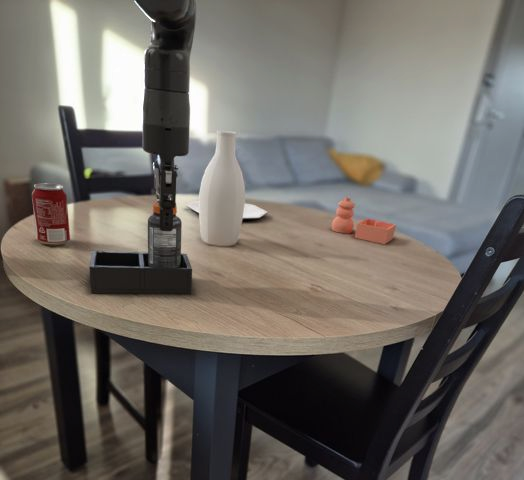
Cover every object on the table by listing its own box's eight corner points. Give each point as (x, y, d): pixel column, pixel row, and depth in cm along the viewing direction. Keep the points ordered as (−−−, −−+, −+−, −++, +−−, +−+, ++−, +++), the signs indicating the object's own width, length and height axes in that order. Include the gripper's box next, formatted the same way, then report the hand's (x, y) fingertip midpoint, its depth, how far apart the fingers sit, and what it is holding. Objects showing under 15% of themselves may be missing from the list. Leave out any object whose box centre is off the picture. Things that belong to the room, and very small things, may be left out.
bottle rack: (90, 293, 84) (89, 266, 81) (93, 275, 91) (92, 250, 89) (191, 294, 88) (192, 269, 86) (185, 276, 96) (186, 253, 94)
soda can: (70, 247, 104) (66, 190, 99) (36, 246, 102) (29, 188, 96) (70, 238, 110) (65, 183, 104) (37, 237, 108) (31, 182, 102)
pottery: (392, 238, 145) (400, 205, 140) (384, 244, 137) (392, 209, 133) (337, 225, 151) (342, 193, 147) (326, 230, 144) (332, 197, 139)
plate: (272, 212, 158) (273, 208, 158) (251, 227, 138) (252, 221, 137) (206, 201, 163) (206, 196, 162) (176, 213, 142) (176, 208, 142)
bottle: (195, 245, 116) (201, 130, 104) (198, 233, 125) (203, 127, 114) (241, 249, 117) (252, 136, 105) (240, 237, 127) (250, 132, 115)
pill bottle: (161, 259, 93) (161, 198, 87) (186, 266, 91) (189, 205, 85) (141, 266, 88) (140, 202, 82) (167, 273, 86) (169, 209, 80)
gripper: (140, 116, 83) (141, 215, 91) (144, 123, 71) (144, 236, 79) (184, 121, 85) (181, 217, 93) (195, 128, 73) (190, 238, 81)
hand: (164, 225), depth 86 cm, fingers closed on pill bottle, 6 cm apart
